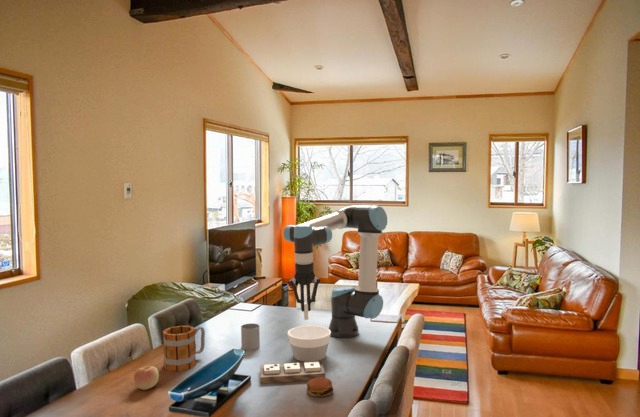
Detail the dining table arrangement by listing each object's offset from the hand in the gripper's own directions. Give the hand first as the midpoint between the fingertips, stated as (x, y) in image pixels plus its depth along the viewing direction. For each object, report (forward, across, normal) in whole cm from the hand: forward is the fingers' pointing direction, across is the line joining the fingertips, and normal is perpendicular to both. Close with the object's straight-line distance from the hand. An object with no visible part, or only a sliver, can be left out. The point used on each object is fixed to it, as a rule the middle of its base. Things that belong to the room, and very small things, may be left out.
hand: (306, 318), depth 200 cm
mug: (+19, +51, -12) cm, 56 cm away
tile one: (+20, -1, +9) cm, 22 cm away
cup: (+20, +24, -27) cm, 41 cm away
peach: (+19, +62, +10) cm, 66 cm away
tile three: (+19, +15, +8) cm, 26 cm away
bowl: (+21, -2, -11) cm, 23 cm away
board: (+20, +7, +9) cm, 23 cm away
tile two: (+20, +7, +9) cm, 23 cm away
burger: (+20, -1, +26) cm, 33 cm away
